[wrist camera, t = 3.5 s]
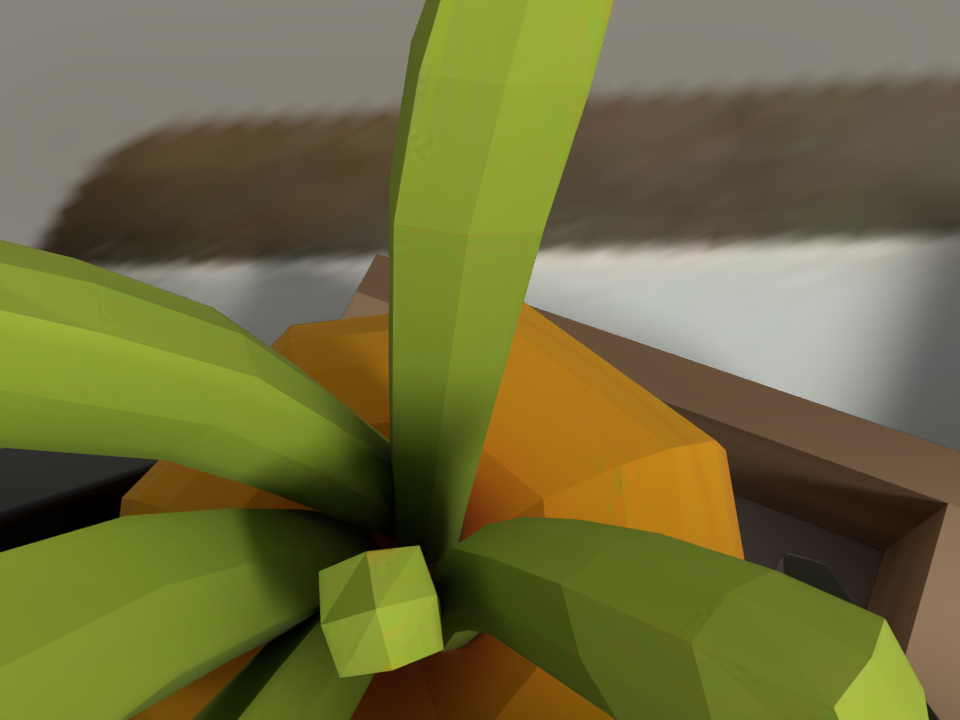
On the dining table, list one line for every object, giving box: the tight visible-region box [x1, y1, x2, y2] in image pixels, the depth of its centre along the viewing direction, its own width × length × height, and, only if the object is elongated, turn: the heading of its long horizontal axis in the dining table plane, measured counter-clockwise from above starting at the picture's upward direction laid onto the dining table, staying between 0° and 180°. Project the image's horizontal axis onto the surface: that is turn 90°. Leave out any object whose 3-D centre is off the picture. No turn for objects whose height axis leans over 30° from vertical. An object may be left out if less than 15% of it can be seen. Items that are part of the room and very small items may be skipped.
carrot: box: [0, 0, 929, 720], centre depth 9 cm, size 5×5×15 cm
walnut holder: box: [342, 254, 960, 720], centre depth 14 cm, size 11×11×4 cm
